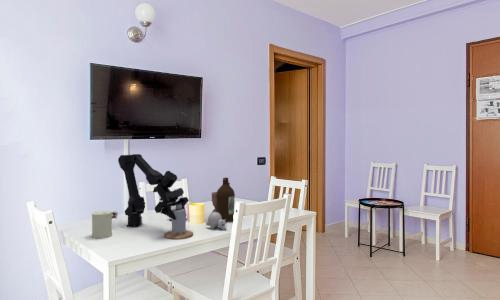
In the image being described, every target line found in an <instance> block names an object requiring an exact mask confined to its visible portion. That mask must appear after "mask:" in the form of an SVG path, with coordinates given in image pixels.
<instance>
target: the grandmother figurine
mask: <svg viewBox="0 0 500 300" xmlns="http://www.w3.org/2000/svg"><path fill="white" fill-rule="evenodd" d="M118 214H119V211H118V210H113V211H112V218H114V217H118Z"/></svg>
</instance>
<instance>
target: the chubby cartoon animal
mask: <svg viewBox="0 0 500 300" xmlns="http://www.w3.org/2000/svg"><path fill="white" fill-rule="evenodd" d="M225 221H226V219H225V220H222V217H221V215H220V214H219V213H218V212H212V211H211V213H210V214H209V215H208V218H207V221H205V225H206V226H207V227H209V228H210V230H214V229H216V228H217V229H218V227H219V228H220V229H221V230H223V231H225V230H227V228H228V227H227V224H226V222H225Z"/></svg>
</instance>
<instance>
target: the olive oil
mask: <svg viewBox="0 0 500 300" xmlns="http://www.w3.org/2000/svg"><path fill="white" fill-rule="evenodd" d="M228 182H229V183H230V181H229V177H222V184H221V185H220V186H219V188H218V189H217V191H216V192H217V194H216V197H217V212H218V213H219V214H220V215H221V217H222V220H225V219H226V221H225V223H231V222H233V221H234V219H233V215H234V213H235V198H236V197H235V196H236V194H235V191H234V189H233V188H232V187H231V184H230V185H229V184H228ZM234 216H235V215H234Z"/></svg>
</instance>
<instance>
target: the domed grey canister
mask: <svg viewBox="0 0 500 300" xmlns="http://www.w3.org/2000/svg"><path fill="white" fill-rule="evenodd" d="M186 211H187V210H186V208H185V209H182V205H181V204H177V205H176V209H173V210H172V212H173V213H174V215H175V217H176V220H174V219H171V231H172V232H174V233H182V232H185V231H186V230H187V228H186V226H187V222H186V221H187V219H186V216H187V212H186Z"/></svg>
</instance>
